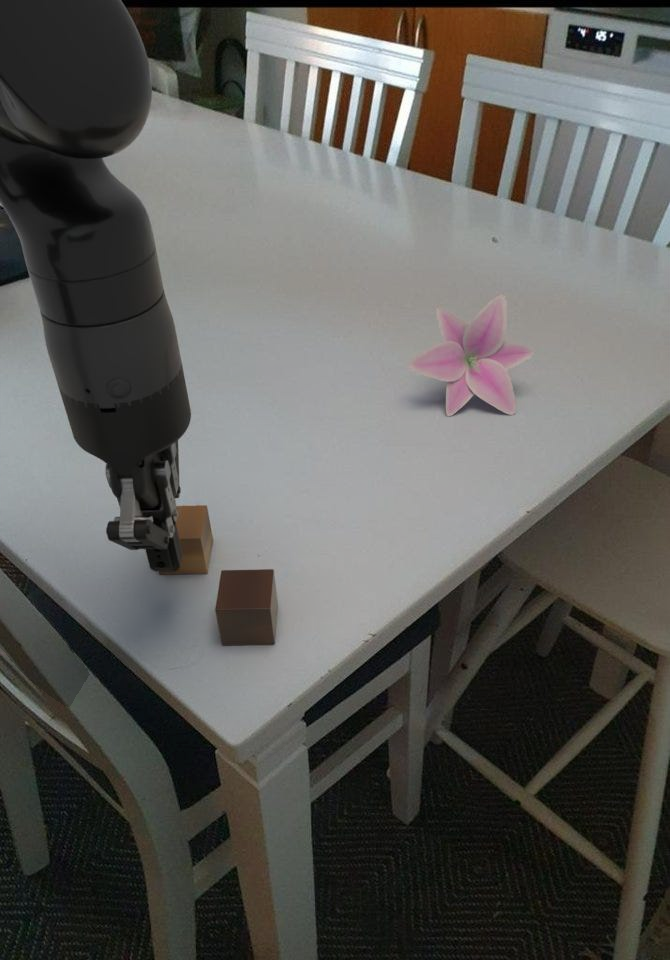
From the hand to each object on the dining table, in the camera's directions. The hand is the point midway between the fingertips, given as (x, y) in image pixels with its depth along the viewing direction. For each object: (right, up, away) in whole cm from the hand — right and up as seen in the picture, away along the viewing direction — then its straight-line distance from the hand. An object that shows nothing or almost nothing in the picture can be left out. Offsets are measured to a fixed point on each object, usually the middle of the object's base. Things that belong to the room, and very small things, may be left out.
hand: (167, 564), depth 60 cm
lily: (+27, +15, +25) cm, 39 cm away
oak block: (0, 0, +8) cm, 8 cm away
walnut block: (+6, -5, +2) cm, 8 cm away
